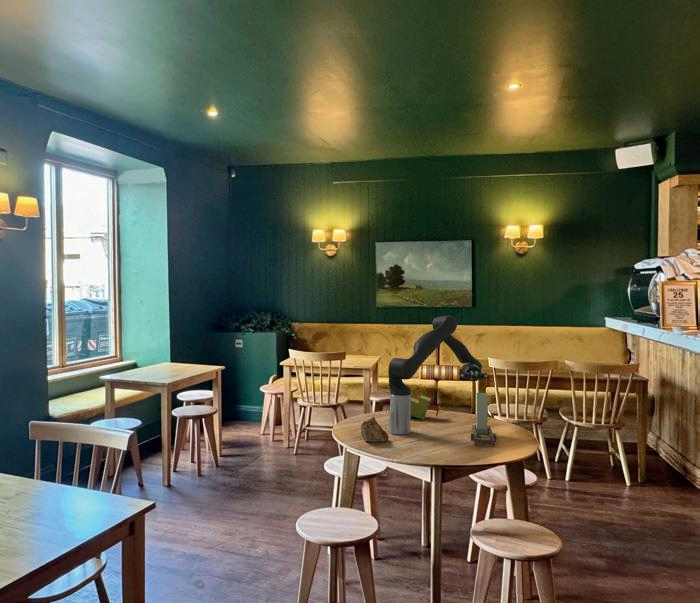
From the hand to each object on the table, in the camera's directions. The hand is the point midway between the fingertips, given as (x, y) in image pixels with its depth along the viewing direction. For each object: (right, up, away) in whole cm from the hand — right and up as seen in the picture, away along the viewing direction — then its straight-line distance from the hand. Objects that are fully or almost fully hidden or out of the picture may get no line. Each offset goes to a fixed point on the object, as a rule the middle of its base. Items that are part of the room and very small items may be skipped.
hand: (474, 378), depth 236 cm
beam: (-1, -23, -17) cm, 29 cm away
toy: (-23, -24, +20) cm, 39 cm away
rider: (+1, -23, -9) cm, 25 cm away
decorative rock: (-48, -23, -23) cm, 58 cm away
